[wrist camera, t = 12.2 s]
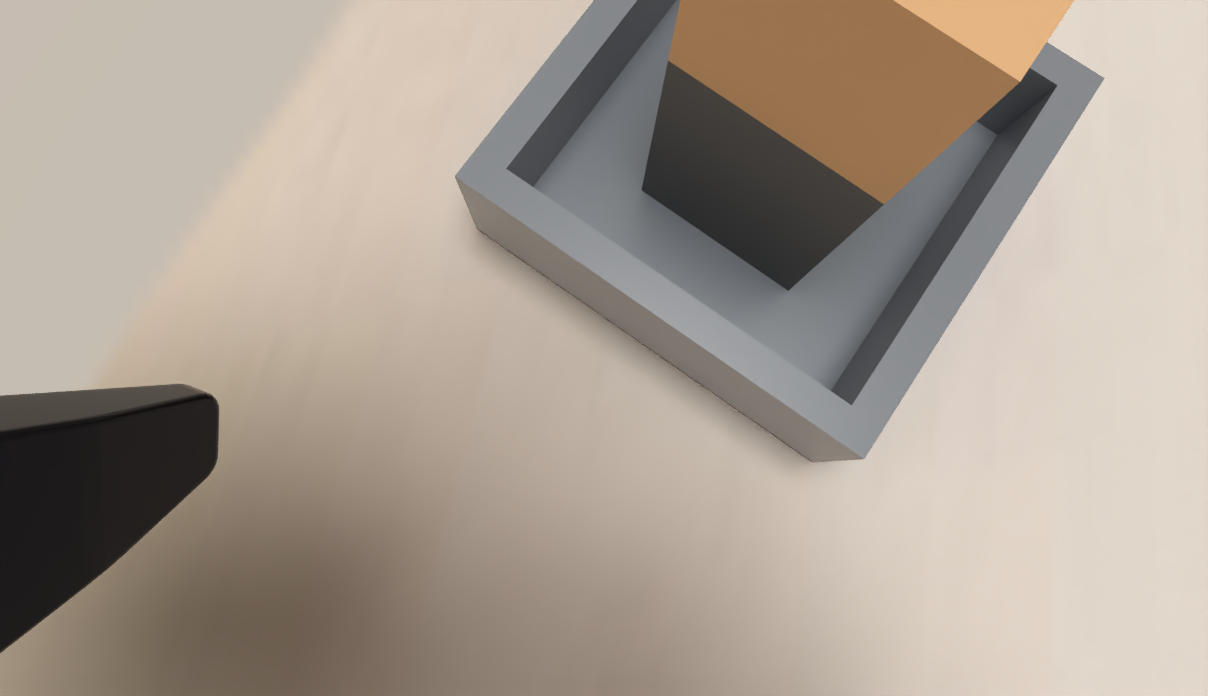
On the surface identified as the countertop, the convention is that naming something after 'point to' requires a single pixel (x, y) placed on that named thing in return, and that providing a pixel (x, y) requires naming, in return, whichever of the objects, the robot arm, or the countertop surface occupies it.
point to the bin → (722, 279)
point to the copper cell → (823, 111)
